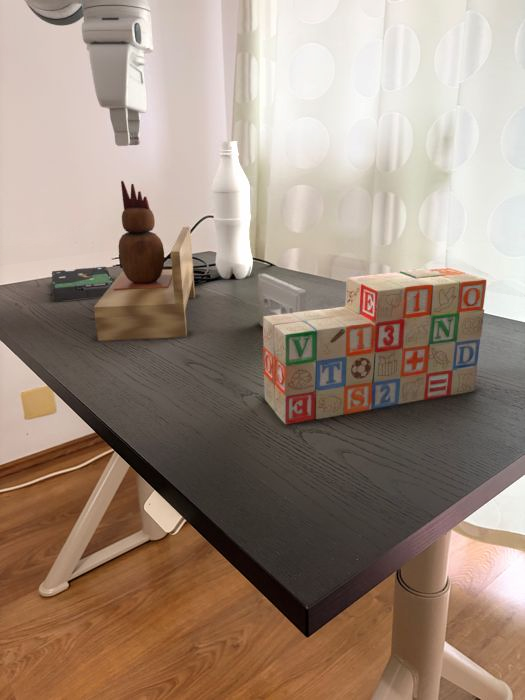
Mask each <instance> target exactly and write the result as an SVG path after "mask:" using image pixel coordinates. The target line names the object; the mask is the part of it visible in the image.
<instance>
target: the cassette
mask: <svg viewBox="0 0 525 700" xmlns="http://www.w3.org/2000/svg"><path fill="white" fill-rule="evenodd" d="M257 285H258V289H257V291H258V323H259V325H260V326H261V327H263V317H264V316H271V315H279V314H287V313H295V312H303V311H307V309H306V307H307V304H306V302H307V301H306V300H307V298H306V295H307V293H306V290H305V289H302V288H300V287H298V286H295V285H293V284H291V283H289V282H287V281H284V280H282V279H279V278H276V277H274V276H272V275H270V274H267V273H264V272H263V273H258V274H257Z"/></svg>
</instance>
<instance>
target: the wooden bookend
mask: <svg viewBox="0 0 525 700" xmlns="http://www.w3.org/2000/svg"><path fill="white" fill-rule="evenodd" d="M191 233H192V232H191V227H190V226H183V227H182V228H181V231H180V233H179V234H178V237H177V238H176V240H175V242H174V245H173V246H172V248H171V250H170V262H171V269H163V270H162V273H161V276H160V278H159V279H158V280H156V281H154V282H151V283H135V282H132V281H130V280H129V279H128V278H127V277H126V275H125V273H124V271H123V270H122V271H121V272H120V273H119V275H118V276H117V277H116V278H115V279H114V281H112V282H113V283H112V285H111V286H110V287H109V289H108V290H107V291H106V292H105V294H104V295H103V296H102V297H100V299H99V300H98V301H97V302H96V303H95V305H94V306H93V312H94V319H95V327H96V334H97V341H98V342H100V341H101V342H103V341H121V340H123V341H125V340H142V339H143V340H145V339H146V340H147V339H148V340H149V339H167V338H168V339H169V338H186V337H187V335H188V328H187V317H186V315H187V314H186V309H187V304H188V301H189V299H195V298H196V292H195V291H196V290H195V279H194V277H195V276H194V262H193V249H192V247H193V246H192V235H191Z"/></svg>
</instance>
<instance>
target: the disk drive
mask: <svg viewBox="0 0 525 700" xmlns="http://www.w3.org/2000/svg"><path fill="white" fill-rule="evenodd" d="M113 282H114V281H113V279H112V277H111V275H110V272H109V270H108V267H107V266H98V267H97V266H96V267H86V268H84V267H83V268H75V269H73V270H68V271H67V270H64V269H63V270H61V269H60V270H53V271H51V289H52V296H53V297H52V298H53V302H67V301H68V302H69V301H76V300H77V301H78V300H85V299H86V300H87V299H97V298H101V297H102V296H103V295H104V294H105V292H106V291H107V290H108V289H109V287H110V286H111V285H112V283H113Z"/></svg>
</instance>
